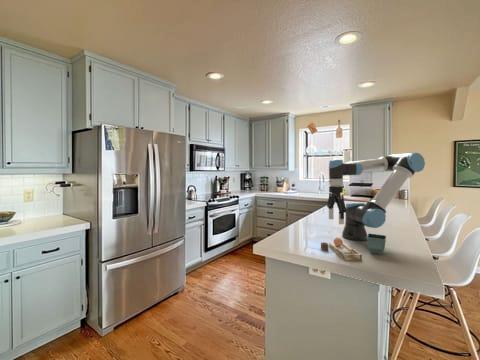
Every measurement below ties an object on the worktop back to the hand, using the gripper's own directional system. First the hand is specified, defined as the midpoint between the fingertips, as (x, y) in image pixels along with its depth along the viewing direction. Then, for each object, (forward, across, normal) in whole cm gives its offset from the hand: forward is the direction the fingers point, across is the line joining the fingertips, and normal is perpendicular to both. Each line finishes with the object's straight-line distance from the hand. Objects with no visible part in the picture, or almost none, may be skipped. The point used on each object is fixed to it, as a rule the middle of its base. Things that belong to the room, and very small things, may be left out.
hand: (336, 221), depth 145 cm
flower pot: (+15, +13, +16) cm, 26 cm away
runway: (+14, +8, -1) cm, 17 cm away
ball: (+11, +4, -1) cm, 12 cm away
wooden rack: (+14, +19, -2) cm, 24 cm away
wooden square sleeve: (+14, +7, -10) cm, 19 cm away
